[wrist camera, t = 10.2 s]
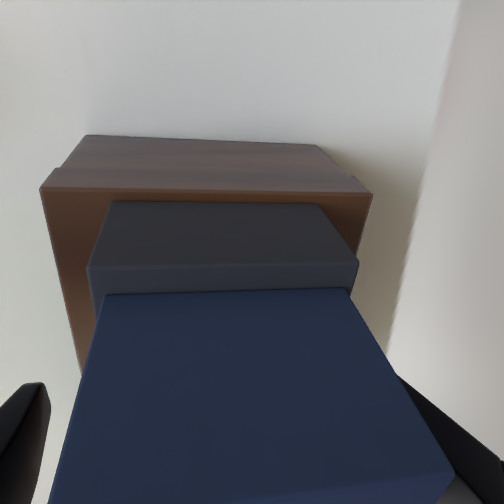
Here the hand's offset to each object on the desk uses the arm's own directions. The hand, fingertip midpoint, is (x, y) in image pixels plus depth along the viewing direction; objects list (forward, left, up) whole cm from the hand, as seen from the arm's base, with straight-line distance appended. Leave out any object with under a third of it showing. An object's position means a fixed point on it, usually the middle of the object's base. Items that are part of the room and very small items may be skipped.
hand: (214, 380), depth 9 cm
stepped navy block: (0, 0, -1) cm, 1 cm away
